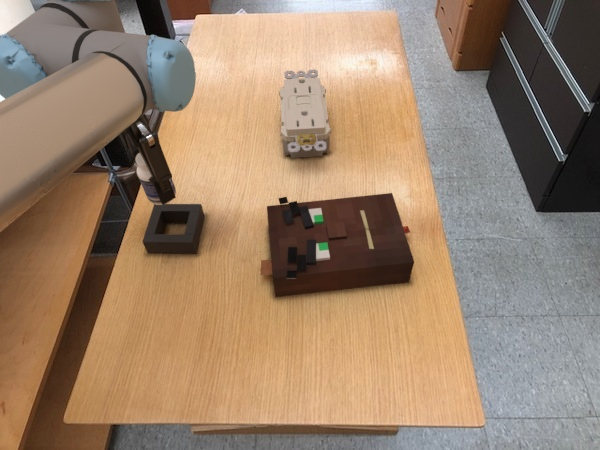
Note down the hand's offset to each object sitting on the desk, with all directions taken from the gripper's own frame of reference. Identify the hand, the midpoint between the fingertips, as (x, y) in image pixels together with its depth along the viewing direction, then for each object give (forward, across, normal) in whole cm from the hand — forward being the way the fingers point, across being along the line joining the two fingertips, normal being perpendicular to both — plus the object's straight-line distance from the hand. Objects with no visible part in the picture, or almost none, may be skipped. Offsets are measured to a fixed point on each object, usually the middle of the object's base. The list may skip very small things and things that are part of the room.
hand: (160, 190), depth 83 cm
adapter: (+13, 0, 0) cm, 13 cm away
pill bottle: (+2, 0, 0) cm, 2 cm away
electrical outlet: (+14, +7, -40) cm, 43 cm away
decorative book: (+14, -25, -22) cm, 36 cm away
